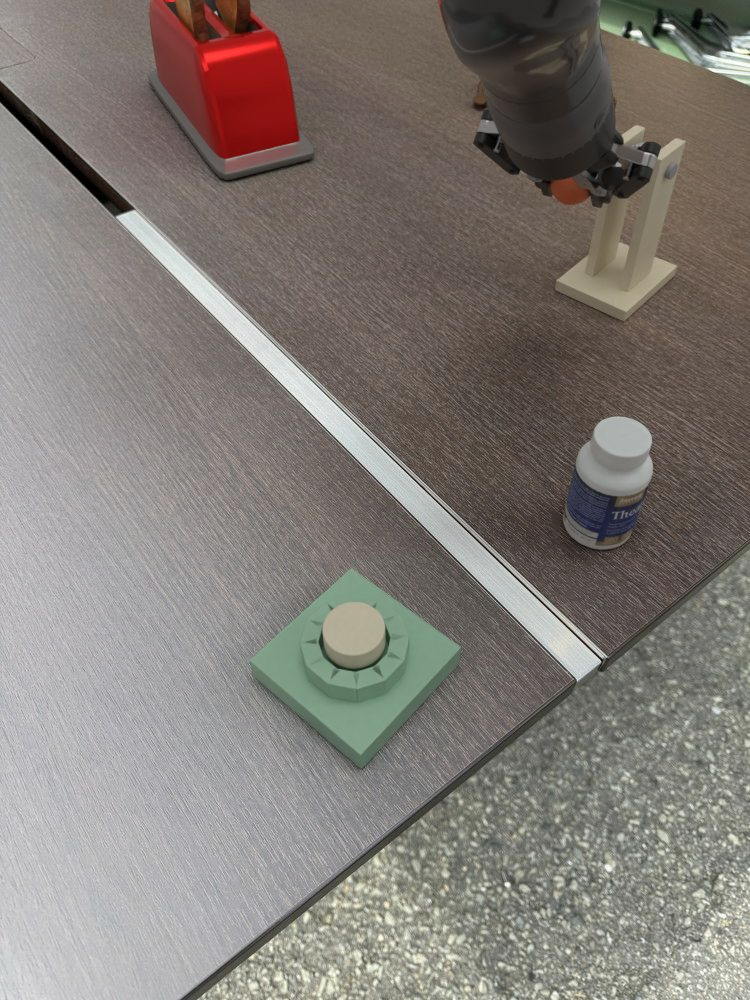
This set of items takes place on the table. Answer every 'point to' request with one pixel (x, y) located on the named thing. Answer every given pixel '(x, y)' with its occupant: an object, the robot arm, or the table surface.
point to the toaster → (226, 85)
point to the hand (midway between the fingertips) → (576, 189)
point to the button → (354, 635)
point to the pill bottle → (609, 483)
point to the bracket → (618, 267)
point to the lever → (572, 189)
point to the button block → (356, 671)
